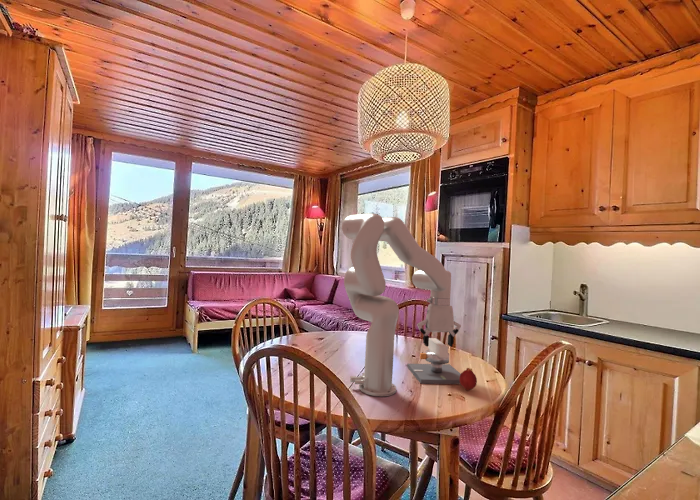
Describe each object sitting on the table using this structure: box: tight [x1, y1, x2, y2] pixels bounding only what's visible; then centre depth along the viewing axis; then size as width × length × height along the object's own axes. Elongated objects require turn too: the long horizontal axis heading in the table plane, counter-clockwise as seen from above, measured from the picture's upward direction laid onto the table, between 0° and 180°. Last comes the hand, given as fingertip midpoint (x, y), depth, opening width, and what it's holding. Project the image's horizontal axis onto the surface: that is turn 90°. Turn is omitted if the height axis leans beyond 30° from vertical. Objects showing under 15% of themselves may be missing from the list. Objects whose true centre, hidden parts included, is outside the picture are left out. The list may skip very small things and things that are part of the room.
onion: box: [459, 367, 478, 392], centre depth 125 cm, size 6×6×8 cm
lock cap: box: [419, 337, 450, 364], centre depth 139 cm, size 11×13×7 cm
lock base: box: [406, 362, 462, 385], centre depth 139 cm, size 18×18×6 cm
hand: (438, 345), depth 139 cm, fingers open, 9 cm apart
